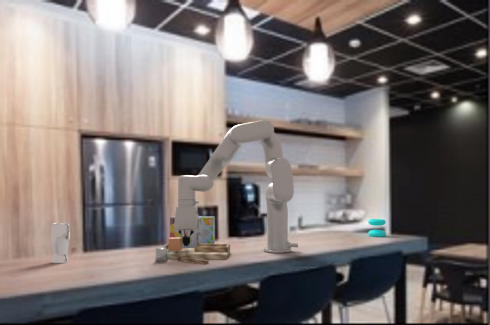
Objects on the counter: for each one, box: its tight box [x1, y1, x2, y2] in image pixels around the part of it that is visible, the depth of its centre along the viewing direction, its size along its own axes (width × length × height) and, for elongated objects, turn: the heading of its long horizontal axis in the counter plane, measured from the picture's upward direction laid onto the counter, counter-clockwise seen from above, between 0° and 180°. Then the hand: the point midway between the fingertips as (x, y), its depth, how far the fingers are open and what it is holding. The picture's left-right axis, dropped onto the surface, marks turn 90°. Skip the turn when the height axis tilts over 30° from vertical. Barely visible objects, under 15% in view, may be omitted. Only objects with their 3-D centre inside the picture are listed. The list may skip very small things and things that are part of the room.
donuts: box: [367, 218, 387, 238], centre depth 248 cm, size 10×10×10 cm
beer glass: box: [50, 222, 71, 265], centre depth 164 cm, size 7×7×15 cm
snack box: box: [169, 215, 216, 248], centre depth 202 cm, size 21×6×15 cm, turn 84°
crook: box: [177, 256, 209, 265], centre depth 165 cm, size 14×5×2 cm, turn 58°
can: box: [155, 247, 168, 263], centre depth 166 cm, size 4×4×5 cm
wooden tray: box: [159, 243, 231, 260], centre depth 179 cm, size 28×16×4 cm, turn 86°
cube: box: [167, 237, 182, 251], centre depth 182 cm, size 5×5×5 cm
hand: (186, 245), depth 182 cm, fingers closed
